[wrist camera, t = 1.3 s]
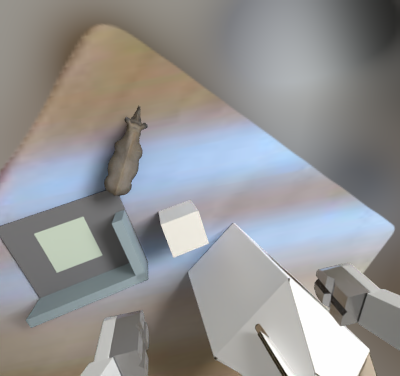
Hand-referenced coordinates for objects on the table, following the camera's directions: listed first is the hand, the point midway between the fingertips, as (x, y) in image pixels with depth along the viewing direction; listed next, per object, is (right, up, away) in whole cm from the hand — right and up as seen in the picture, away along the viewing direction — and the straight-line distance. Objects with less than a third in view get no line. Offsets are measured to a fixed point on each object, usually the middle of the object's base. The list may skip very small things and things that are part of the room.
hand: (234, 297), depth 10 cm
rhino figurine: (-13, +11, +25) cm, 30 cm away
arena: (-22, -5, +26) cm, 34 cm away
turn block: (-5, -1, +30) cm, 30 cm away
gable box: (+8, -13, +36) cm, 39 cm away
